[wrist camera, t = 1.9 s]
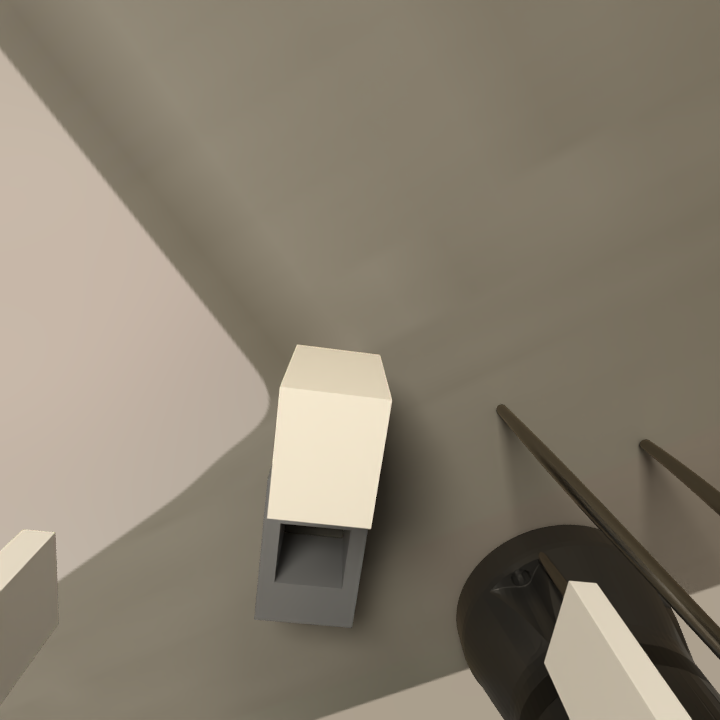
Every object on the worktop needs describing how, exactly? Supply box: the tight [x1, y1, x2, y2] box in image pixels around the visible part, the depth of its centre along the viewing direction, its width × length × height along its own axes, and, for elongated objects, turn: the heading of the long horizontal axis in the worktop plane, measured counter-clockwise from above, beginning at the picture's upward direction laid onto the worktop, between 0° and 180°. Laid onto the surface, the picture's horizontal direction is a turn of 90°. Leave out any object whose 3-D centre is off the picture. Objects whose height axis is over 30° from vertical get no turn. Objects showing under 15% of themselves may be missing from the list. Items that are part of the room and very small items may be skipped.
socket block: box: [254, 462, 368, 628], centre depth 32 cm, size 6×10×5 cm, turn 172°
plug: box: [267, 345, 392, 529], centre depth 26 cm, size 4×6×12 cm
